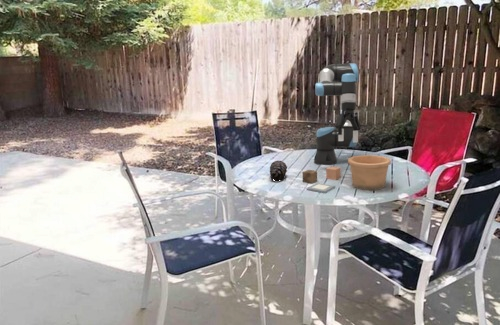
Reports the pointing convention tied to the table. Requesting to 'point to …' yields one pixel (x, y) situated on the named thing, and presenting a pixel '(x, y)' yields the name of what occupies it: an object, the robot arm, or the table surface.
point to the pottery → (369, 171)
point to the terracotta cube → (333, 173)
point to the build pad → (321, 188)
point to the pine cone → (278, 170)
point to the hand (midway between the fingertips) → (348, 141)
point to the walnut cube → (309, 176)
